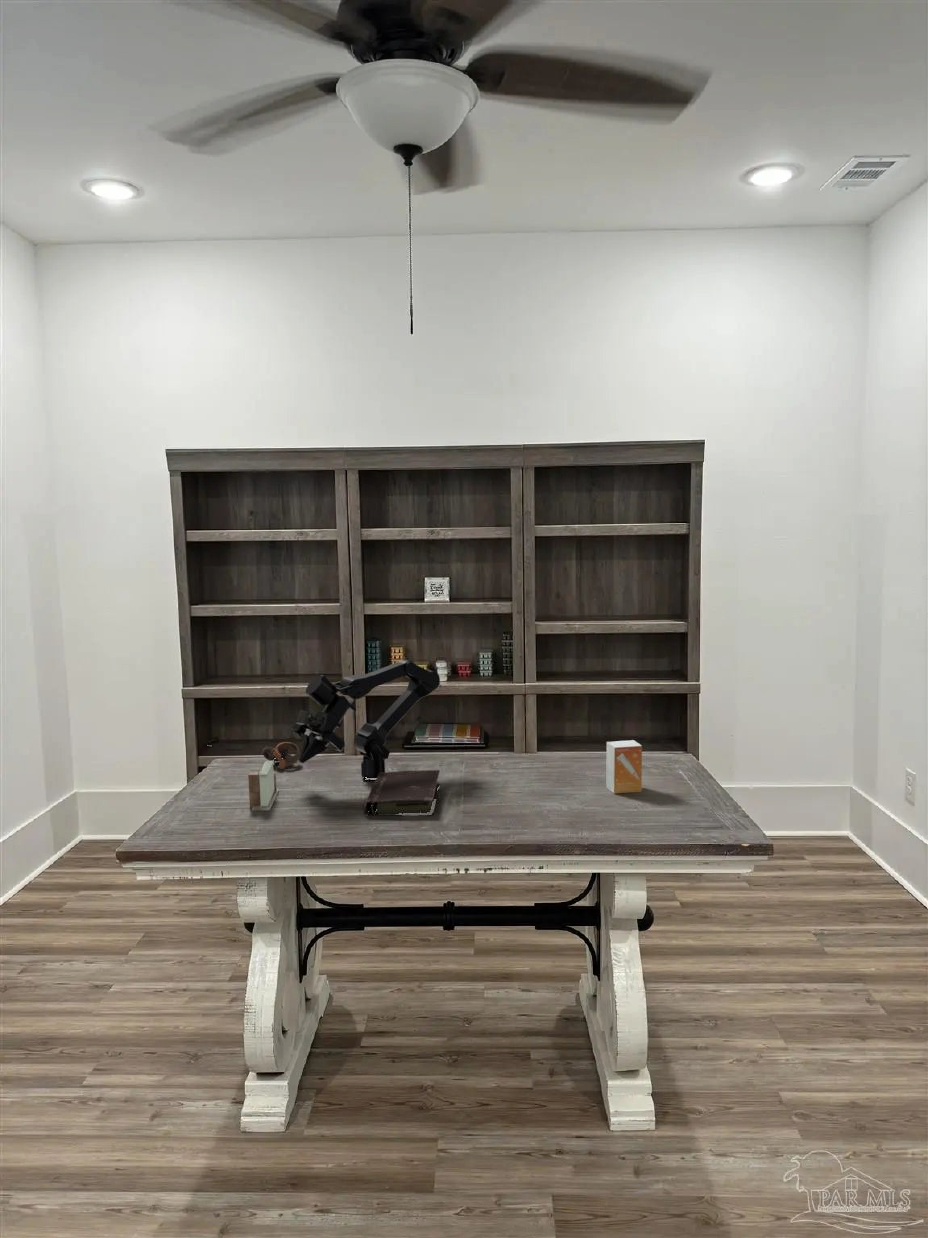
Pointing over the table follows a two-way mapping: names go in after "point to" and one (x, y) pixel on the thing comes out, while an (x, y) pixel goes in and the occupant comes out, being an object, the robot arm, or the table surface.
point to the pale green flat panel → (266, 783)
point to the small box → (624, 766)
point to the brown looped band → (282, 754)
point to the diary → (403, 792)
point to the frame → (255, 792)
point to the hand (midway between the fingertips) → (300, 762)
